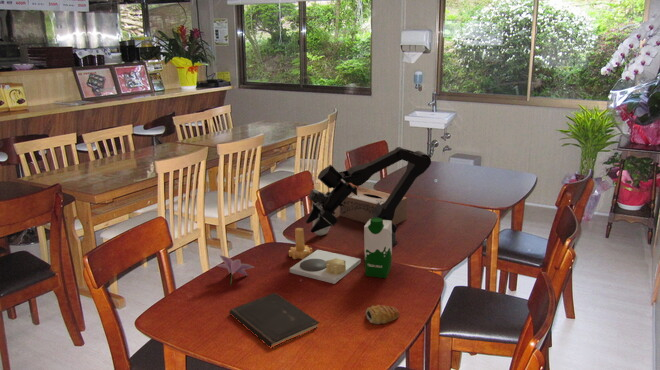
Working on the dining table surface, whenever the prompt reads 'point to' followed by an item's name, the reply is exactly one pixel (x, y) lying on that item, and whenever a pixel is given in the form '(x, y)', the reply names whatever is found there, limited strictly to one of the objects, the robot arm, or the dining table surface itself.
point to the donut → (321, 231)
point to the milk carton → (378, 247)
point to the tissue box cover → (369, 205)
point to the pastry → (381, 314)
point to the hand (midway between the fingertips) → (309, 227)
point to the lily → (234, 266)
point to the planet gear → (299, 246)
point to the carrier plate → (325, 266)
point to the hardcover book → (273, 319)
